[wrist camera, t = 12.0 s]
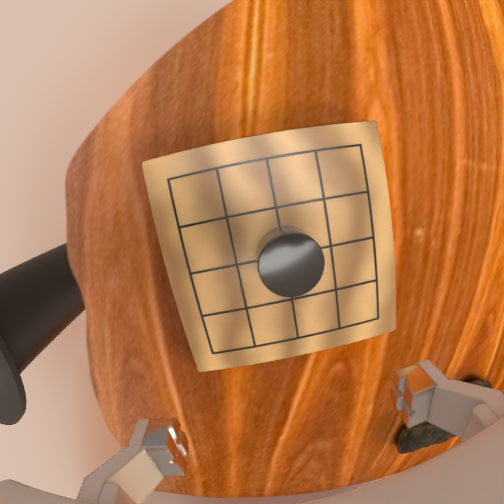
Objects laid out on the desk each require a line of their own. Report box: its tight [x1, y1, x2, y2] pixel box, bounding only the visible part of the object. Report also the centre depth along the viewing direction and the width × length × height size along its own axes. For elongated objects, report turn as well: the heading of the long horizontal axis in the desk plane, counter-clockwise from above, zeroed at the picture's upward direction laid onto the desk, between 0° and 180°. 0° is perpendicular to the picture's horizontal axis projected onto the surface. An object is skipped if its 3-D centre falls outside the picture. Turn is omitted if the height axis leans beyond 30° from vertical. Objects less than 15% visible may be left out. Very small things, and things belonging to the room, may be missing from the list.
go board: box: [141, 121, 396, 372], centre depth 26 cm, size 20×20×2 cm
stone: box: [396, 380, 492, 454], centre depth 31 cm, size 18×11×3 cm, turn 92°
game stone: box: [256, 226, 325, 297], centre depth 23 cm, size 5×5×3 cm
